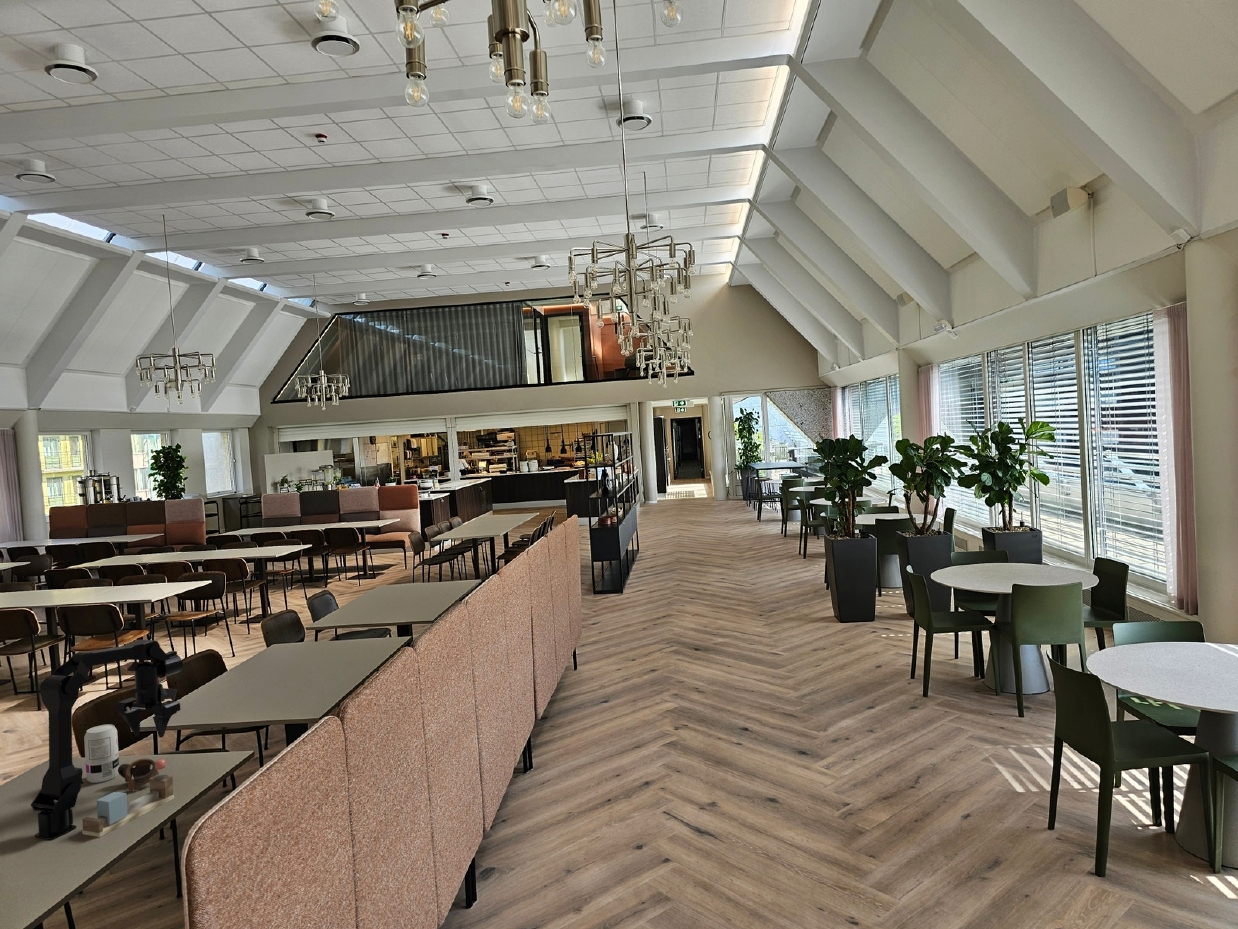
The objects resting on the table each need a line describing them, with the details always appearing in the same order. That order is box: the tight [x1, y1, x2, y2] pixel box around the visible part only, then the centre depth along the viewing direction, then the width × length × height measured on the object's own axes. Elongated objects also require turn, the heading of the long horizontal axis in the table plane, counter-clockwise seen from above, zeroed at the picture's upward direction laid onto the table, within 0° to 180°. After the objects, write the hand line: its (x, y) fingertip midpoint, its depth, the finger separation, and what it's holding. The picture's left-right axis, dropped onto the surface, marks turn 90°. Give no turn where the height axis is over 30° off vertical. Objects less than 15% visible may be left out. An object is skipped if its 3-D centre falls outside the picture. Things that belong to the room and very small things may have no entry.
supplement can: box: [83, 723, 120, 784], centre depth 231 cm, size 8×8×15 cm
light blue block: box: [96, 791, 128, 825], centre depth 201 cm, size 5×4×6 cm
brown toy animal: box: [118, 758, 160, 792], centre depth 226 cm, size 12×10×8 cm
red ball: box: [154, 758, 166, 771], centre depth 215 cm, size 2×2×2 cm
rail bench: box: [81, 774, 175, 838], centre depth 206 cm, size 23×6×6 cm, turn 163°
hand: (149, 736), depth 224 cm, fingers open, 9 cm apart
